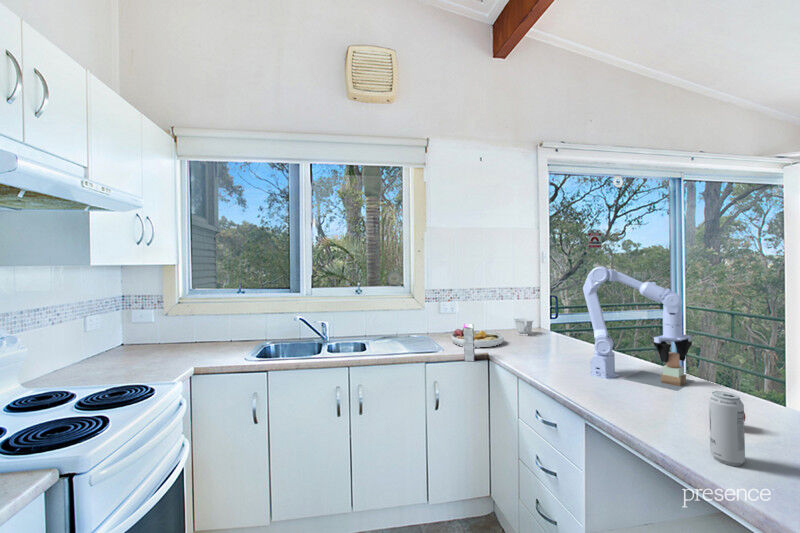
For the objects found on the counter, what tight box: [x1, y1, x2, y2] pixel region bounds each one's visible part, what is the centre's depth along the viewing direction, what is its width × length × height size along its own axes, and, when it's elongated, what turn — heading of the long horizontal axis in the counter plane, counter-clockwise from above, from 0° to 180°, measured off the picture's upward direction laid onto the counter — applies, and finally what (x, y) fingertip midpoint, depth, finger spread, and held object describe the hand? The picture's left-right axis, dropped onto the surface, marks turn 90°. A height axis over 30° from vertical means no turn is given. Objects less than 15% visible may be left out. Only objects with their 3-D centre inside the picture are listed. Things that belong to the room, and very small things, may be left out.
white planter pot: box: [513, 317, 534, 335], centre depth 239 cm, size 12×15×10 cm
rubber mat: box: [622, 370, 695, 392], centre depth 142 cm, size 18×18×1 cm
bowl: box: [450, 328, 504, 348], centre depth 219 cm, size 30×30×8 cm
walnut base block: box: [660, 373, 687, 386], centre depth 138 cm, size 6×6×3 cm
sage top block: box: [662, 364, 685, 378], centre depth 138 cm, size 5×5×3 cm
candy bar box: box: [462, 323, 476, 362], centre depth 183 cm, size 11×5×16 cm, turn 168°
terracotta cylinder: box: [665, 351, 681, 368], centre depth 138 cm, size 4×4×5 cm
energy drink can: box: [708, 390, 746, 467], centre depth 85 cm, size 6×6×15 cm
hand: (673, 361), depth 138 cm, fingers open, 7 cm apart
